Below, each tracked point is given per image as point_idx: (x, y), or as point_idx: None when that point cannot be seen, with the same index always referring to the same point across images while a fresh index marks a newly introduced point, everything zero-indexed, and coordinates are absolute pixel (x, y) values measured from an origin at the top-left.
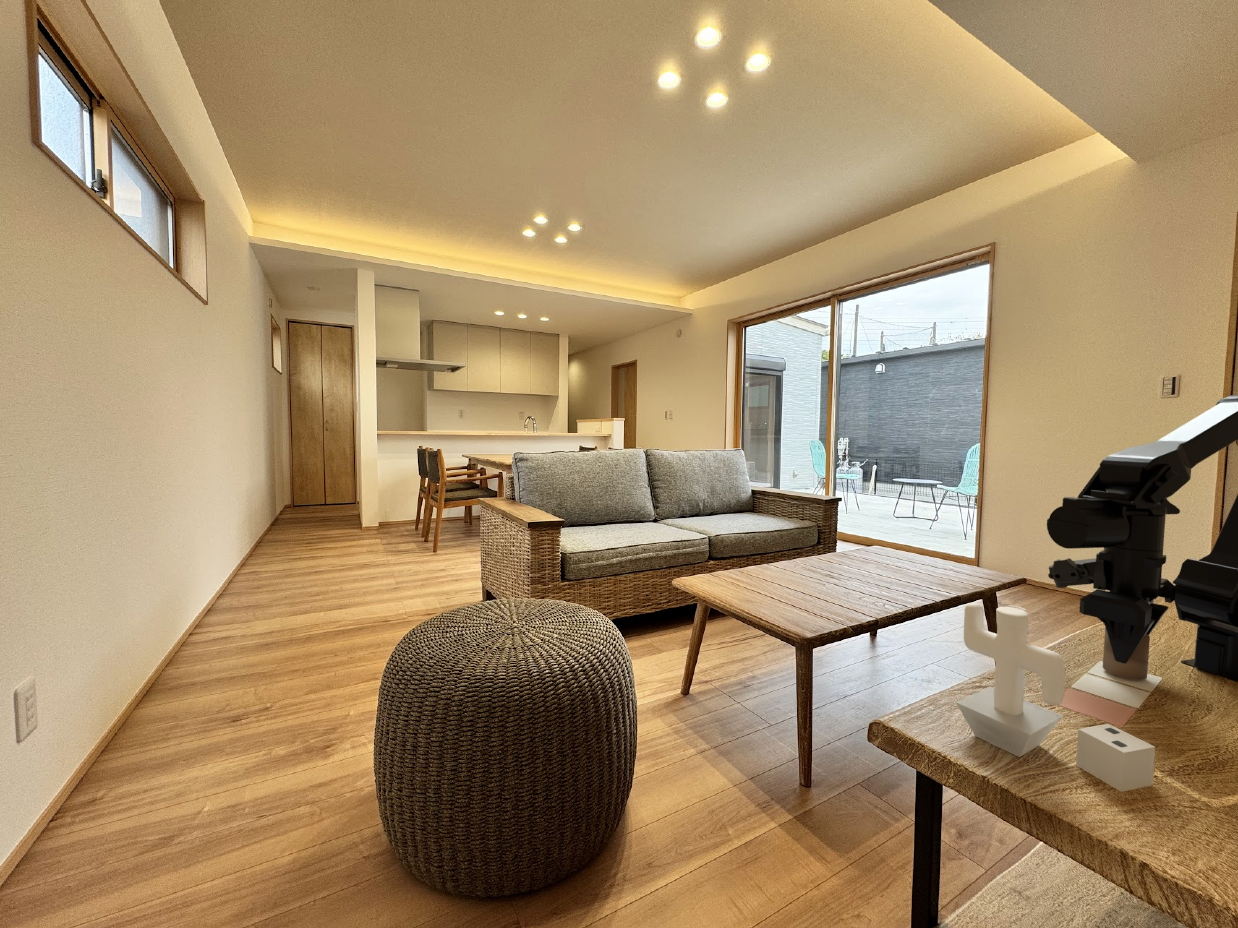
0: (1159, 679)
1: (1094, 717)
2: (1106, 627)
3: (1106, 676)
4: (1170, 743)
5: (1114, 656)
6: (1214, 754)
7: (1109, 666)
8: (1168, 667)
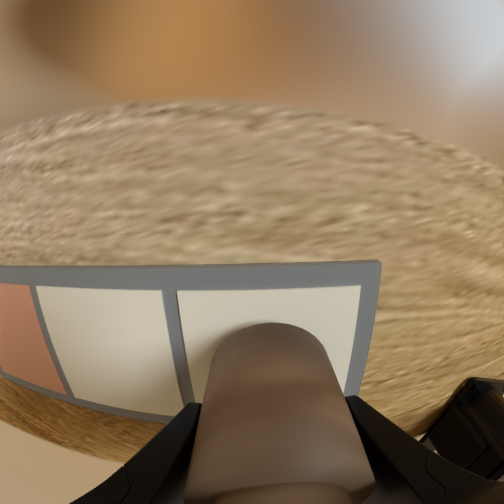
0: None
1: None
2: (75, 502)
3: (200, 338)
4: (39, 411)
5: (180, 412)
6: (66, 442)
7: (214, 361)
8: (446, 374)
